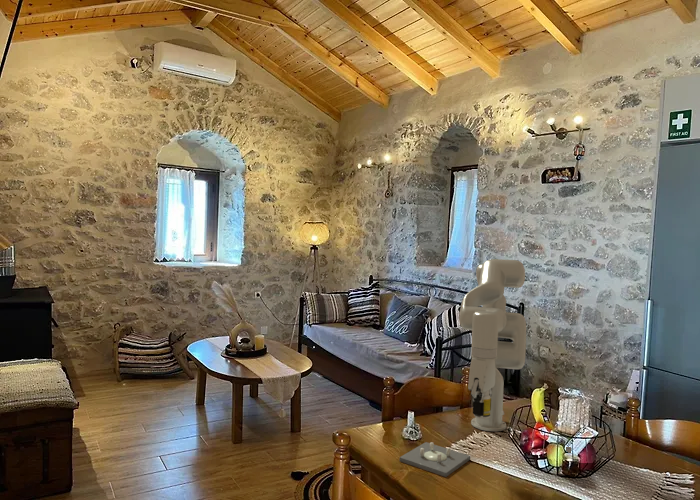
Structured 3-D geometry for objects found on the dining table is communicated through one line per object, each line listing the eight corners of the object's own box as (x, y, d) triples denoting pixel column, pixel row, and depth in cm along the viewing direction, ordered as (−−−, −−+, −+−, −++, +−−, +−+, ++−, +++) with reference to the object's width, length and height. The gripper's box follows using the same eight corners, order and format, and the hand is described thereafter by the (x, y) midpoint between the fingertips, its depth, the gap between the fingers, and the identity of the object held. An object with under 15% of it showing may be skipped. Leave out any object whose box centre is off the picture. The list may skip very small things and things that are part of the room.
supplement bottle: (490, 414, 163) (491, 387, 162) (489, 420, 158) (490, 392, 158) (474, 412, 164) (475, 385, 164) (473, 417, 160) (474, 390, 159)
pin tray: (425, 445, 177) (426, 434, 177) (470, 459, 167) (470, 447, 167) (399, 461, 165) (399, 449, 164) (445, 477, 155) (446, 464, 155)
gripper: (483, 346, 169) (481, 402, 170) (460, 355, 156) (458, 417, 156) (506, 349, 165) (504, 407, 166) (484, 359, 151) (482, 423, 152)
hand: (481, 411), depth 161 cm, fingers closed on supplement bottle, 4 cm apart
